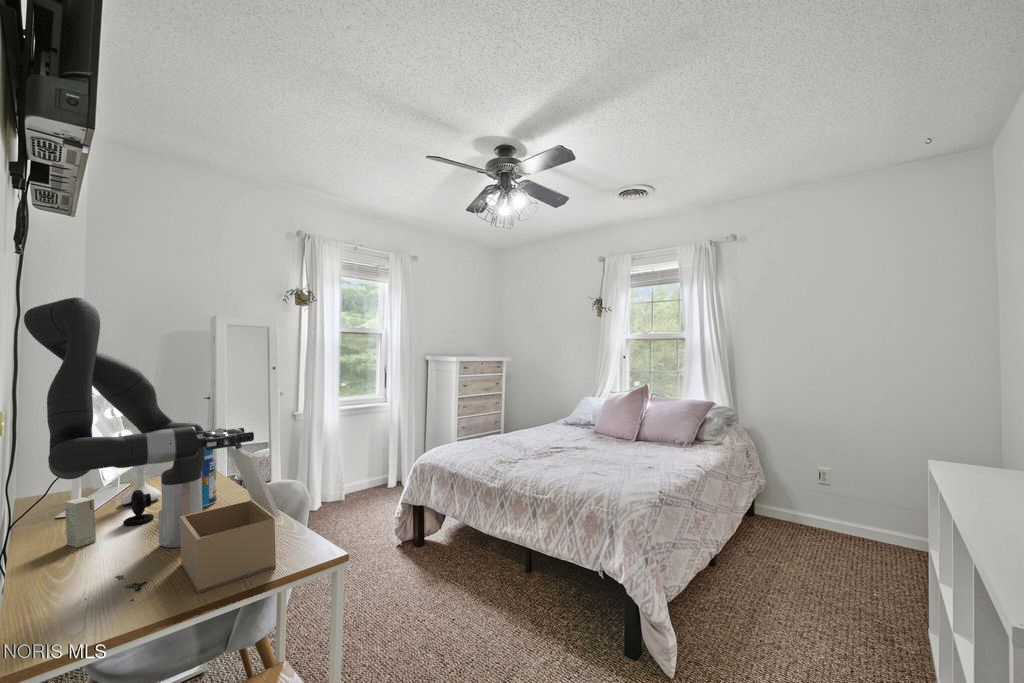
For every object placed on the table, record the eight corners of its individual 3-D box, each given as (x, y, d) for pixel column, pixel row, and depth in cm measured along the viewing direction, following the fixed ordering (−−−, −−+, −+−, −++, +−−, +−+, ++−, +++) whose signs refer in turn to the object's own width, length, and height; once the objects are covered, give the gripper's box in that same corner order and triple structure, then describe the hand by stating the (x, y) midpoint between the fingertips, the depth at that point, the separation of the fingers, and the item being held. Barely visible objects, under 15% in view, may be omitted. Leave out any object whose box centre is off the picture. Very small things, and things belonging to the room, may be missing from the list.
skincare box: (96, 541, 130) (95, 498, 130) (77, 548, 126) (75, 504, 126) (85, 538, 133) (83, 496, 133) (65, 544, 129) (64, 501, 129)
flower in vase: (144, 507, 157) (142, 434, 157) (111, 508, 157) (109, 435, 157) (173, 494, 170) (171, 427, 170) (142, 495, 170) (140, 428, 170)
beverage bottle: (182, 506, 158) (181, 448, 158) (208, 498, 165) (207, 442, 165) (196, 510, 154) (195, 450, 154) (222, 501, 161) (220, 445, 161)
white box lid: (232, 439, 106) (252, 430, 109) (211, 428, 121) (229, 420, 124) (269, 522, 111) (287, 511, 114) (244, 502, 126) (261, 493, 129)
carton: (198, 593, 101) (196, 539, 101) (181, 563, 116) (179, 516, 116) (275, 567, 113) (274, 518, 113) (251, 543, 127) (250, 499, 127)
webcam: (156, 521, 145) (155, 489, 145) (125, 528, 139) (124, 496, 139) (150, 515, 150) (150, 484, 150) (121, 522, 144) (120, 490, 144)
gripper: (175, 432, 101) (256, 422, 113) (165, 425, 111) (240, 416, 123) (176, 466, 101) (257, 452, 113) (166, 456, 112) (241, 444, 123)
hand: (248, 433), depth 118 cm, fingers open, 8 cm apart
